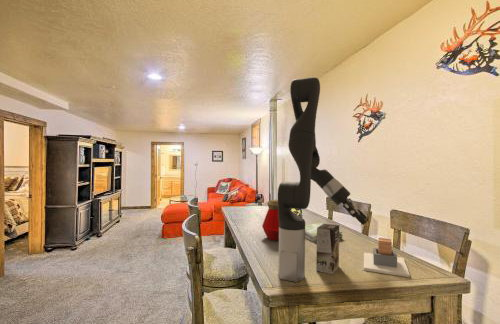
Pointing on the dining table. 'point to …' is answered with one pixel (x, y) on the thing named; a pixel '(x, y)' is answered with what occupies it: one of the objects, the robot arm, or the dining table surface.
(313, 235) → the towel
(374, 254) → the socket stand
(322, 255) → the coffee box
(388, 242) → the peg
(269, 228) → the bottle
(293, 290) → the dining table surface
